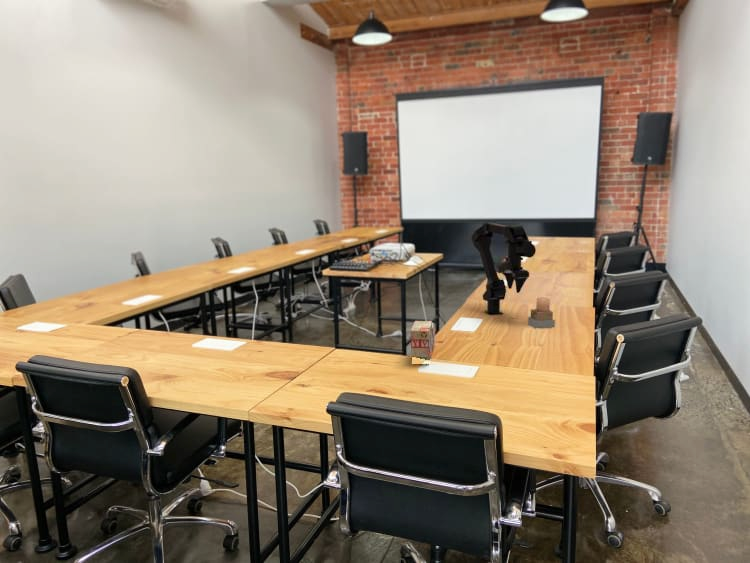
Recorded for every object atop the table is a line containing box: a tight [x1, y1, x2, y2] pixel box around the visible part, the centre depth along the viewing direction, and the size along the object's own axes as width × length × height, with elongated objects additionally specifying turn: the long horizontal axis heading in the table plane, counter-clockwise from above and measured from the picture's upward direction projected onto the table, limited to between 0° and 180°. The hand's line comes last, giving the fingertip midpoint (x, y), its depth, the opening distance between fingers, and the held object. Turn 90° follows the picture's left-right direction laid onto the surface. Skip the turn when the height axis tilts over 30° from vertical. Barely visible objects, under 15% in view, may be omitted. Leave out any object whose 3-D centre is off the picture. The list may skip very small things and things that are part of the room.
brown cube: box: [535, 296, 551, 312], centre depth 225 cm, size 5×5×5 cm
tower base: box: [527, 316, 556, 329], centre depth 227 cm, size 8×8×4 cm
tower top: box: [530, 308, 554, 321], centre depth 226 cm, size 6×6×4 cm
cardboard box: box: [410, 320, 435, 360], centre depth 192 cm, size 21×6×12 cm, turn 169°
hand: (513, 290), depth 235 cm, fingers open, 9 cm apart
